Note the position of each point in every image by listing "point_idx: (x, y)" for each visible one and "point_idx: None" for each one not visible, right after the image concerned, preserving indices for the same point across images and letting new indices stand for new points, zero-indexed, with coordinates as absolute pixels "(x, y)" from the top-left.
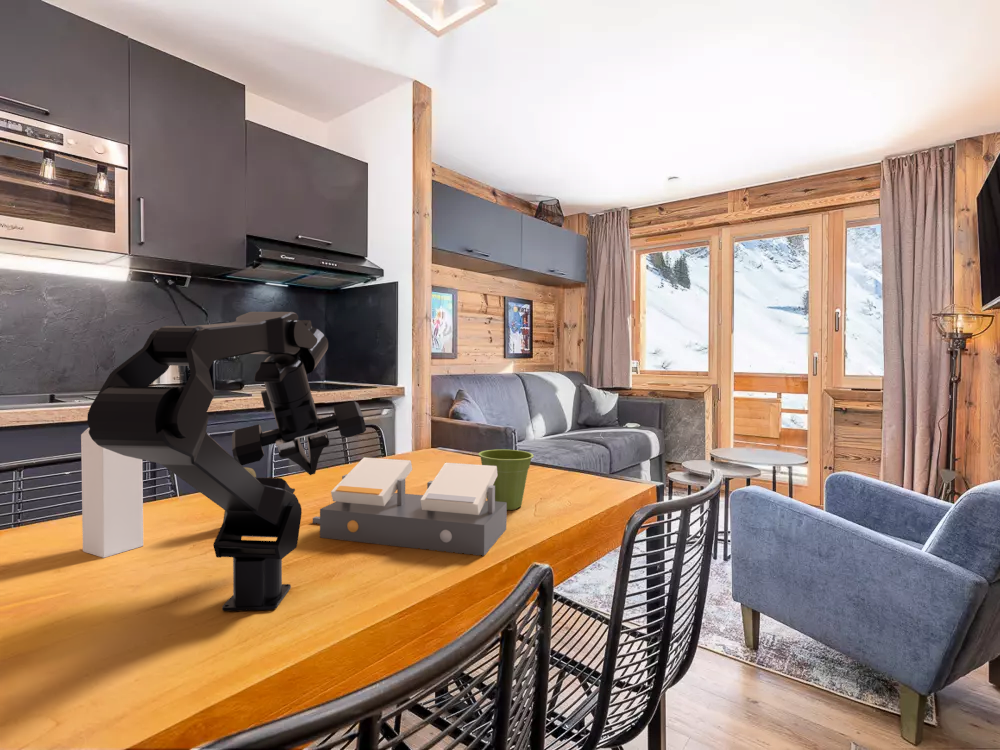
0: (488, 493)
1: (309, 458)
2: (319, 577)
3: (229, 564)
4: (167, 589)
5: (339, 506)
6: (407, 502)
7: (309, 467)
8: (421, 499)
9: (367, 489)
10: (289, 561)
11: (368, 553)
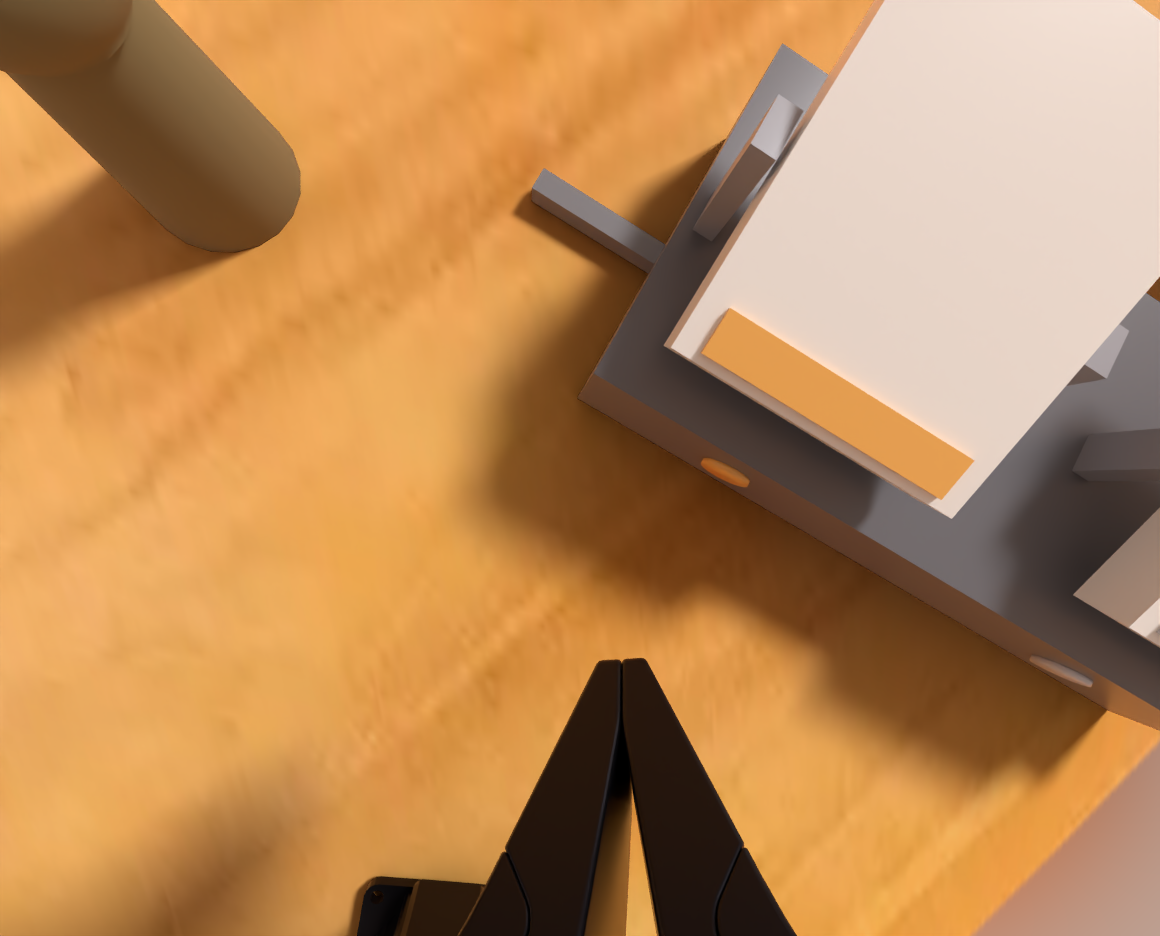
0: None
1: (637, 816)
2: None
3: (275, 628)
4: (108, 830)
5: None
6: None
7: (628, 861)
8: (1134, 626)
9: (889, 425)
10: (491, 638)
11: (757, 611)
